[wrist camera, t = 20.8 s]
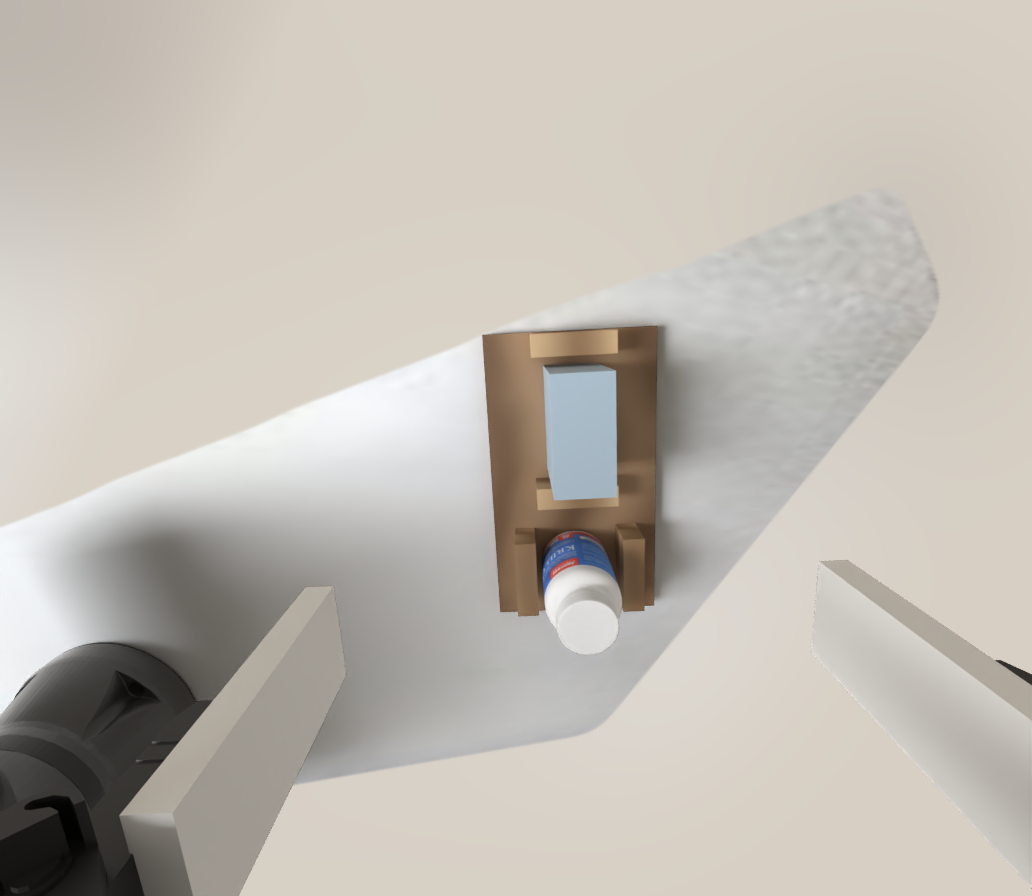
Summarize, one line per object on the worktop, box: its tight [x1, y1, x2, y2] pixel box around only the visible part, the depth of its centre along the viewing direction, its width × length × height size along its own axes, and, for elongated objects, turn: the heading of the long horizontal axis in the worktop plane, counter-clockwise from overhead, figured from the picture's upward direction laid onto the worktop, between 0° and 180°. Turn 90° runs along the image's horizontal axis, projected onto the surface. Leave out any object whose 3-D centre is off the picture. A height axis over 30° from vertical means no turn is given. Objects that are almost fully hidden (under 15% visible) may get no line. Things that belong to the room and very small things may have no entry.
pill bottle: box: [542, 531, 622, 655], centre depth 37 cm, size 6×5×10 cm
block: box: [543, 363, 617, 500], centre depth 35 cm, size 4×8×8 cm, turn 3°
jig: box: [482, 326, 657, 616], centre depth 39 cm, size 13×23×4 cm, turn 3°
